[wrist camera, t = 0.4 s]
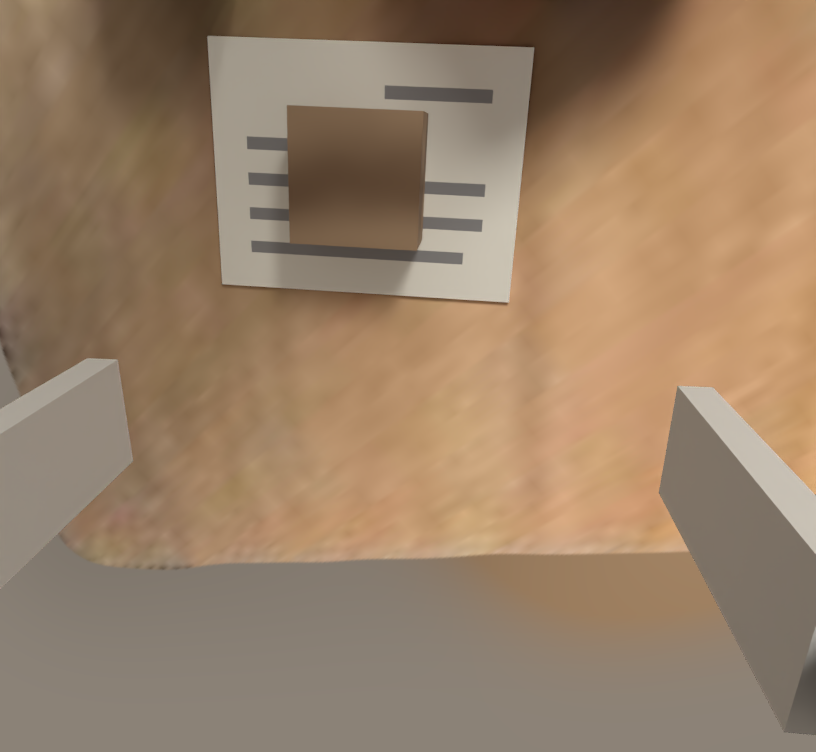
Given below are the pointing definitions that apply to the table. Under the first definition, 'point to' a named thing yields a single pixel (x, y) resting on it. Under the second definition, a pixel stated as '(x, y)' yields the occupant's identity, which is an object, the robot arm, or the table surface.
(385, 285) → the letter
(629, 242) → the table surface
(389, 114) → the walnut block
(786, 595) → the robot arm
